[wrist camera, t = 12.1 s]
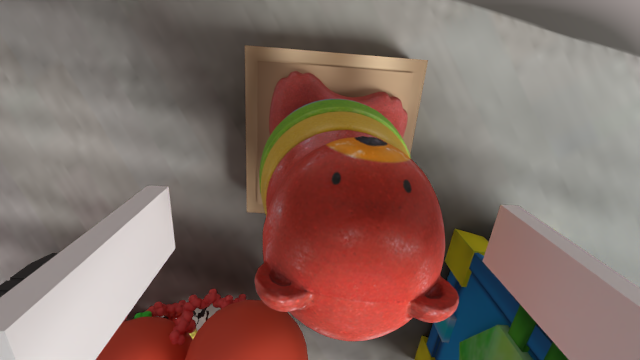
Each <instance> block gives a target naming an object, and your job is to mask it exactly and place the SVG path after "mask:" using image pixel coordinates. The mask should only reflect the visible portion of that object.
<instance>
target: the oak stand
mask: <svg viewBox="0 0 640 360" xmlns="http://www.w3.org/2000/svg"><path fill="white" fill-rule="evenodd" d="M427 63H428V60H417V59H405V58H393V57H381V56H369V55H357V54H345V53H332V52H320V51H308V50H296V49H284V48H272V47H260V46H248V45H245V108H246V191H247V212H253V213H265V211H264V208H263V203H262V197H261V192H260V184H259V171H260V162H261V157H262V153H263V150H264V147H265V145H266V142H267V140H268V139H269V137H270V132H269V116H270V107H271V101H272V96H273V93H274V89H275V87H276V84H277V83H278V81H279V80H280V79H282V78H285V77H288V76H289V74H290V73H291V72H293V71H298V72H300V73H302V74H304V73H308V72H309V73H311V74H313V75H315V76H316V77H317V78H319V79H320V81H321V82H322V83H323V84H324V85H325V86H326V87H327V88H328V89H330V90H331V91H333V92H335V93H337V94H339V95H342V96H346V97H363V96H366V95H370V94H373V93H376V92H385V93H387V94H388V95H389V96H390V97H392V96H394V97H398V98H399V99H400V100H401V102H402V107H403V109H405V110H406V112H407V114H408V119H407V126H406V130H405V133H404V136H403V140H404V142H405V144H406V146H407V149H408V151H409V154H410V153H411V148H412V142H413V137H414V132H415V126H416V121H417V116H418V110H419V105H420V100H421V94H422V89H423V84H424V78H425V73H426V68H427Z"/></svg>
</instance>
